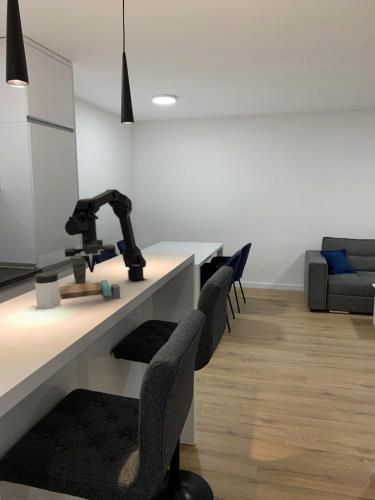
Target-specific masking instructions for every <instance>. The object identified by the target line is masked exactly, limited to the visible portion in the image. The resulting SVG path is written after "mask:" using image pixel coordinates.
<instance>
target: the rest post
mask: <svg viewBox="0 0 375 500" xmlns="http://www.w3.org/2000/svg"><path fill="white" fill-rule="evenodd" d="M110 287H111V295H110V296H111V297H112V298H113V300H115V299H116V300H117V299H121V289H120V288H121V287H120V286H119V284H117V283H114V284H110Z"/></svg>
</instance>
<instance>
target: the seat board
mask: <svg viewBox="0 0 375 500" xmlns="http://www.w3.org/2000/svg"><path fill="white" fill-rule="evenodd" d="M110 288H111V286H110ZM59 292H60V300H65V299H71V298H81V297H90V296H91V297H92V296H97V295H104V293H103V290H102V287H101V281H97V282H90V283H89V282H87V283H83V284H71V285H69V284H68V285H61V286H60V285H59Z"/></svg>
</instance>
